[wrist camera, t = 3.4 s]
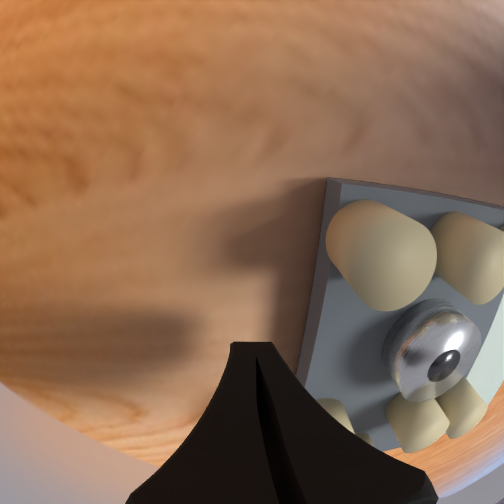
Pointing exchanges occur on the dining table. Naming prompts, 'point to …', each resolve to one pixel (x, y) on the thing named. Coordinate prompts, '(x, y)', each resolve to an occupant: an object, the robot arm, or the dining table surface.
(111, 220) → the dining table surface
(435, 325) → the steel nut
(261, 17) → the dining table surface
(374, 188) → the board
